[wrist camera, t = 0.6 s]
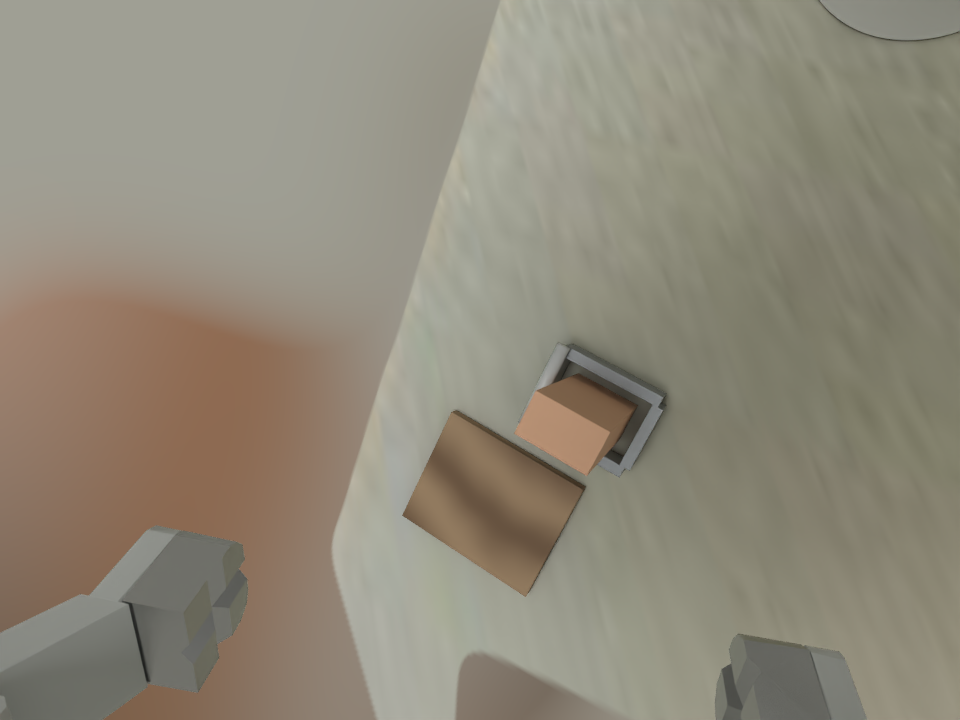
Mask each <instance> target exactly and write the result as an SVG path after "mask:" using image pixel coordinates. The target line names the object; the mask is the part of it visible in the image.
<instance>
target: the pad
mask: <svg viewBox="0 0 960 720" xmlns="http://www.w3.org/2000/svg"><path fill="white" fill-rule="evenodd" d="M584 489H585V486H584V485H582V484H580V483H578V482H577V481H575V480H573V479H572V478H570V477H568V476H567V475H565V474H563V473H562V472H560V471H558V470H557V469H555V468H553V467H551V466H550V465H548V464H546V463H545V462H543V461H541V460H540V459H538V458H536V457H535V456H533V455H531V454H529V453H528V452H526V451H524V450H523V449H521V448H519V447H518V446H516V445H514V444H513V443H511V442H509V441H507V440H506V439H504V438H502V437H501V436H499V435H497V434H496V433H494V432H492V431H491V430H489V429H487V428H485V427H484V426H482V425H480V424H479V423H477V422H475V421H474V420H472V419H470V418H469V417H467V416H465V415H464V414H462V413H460V412H458V411H457V410H456V411H453V412H451V414H450V416H449V418H448V421H447V423H446V425H445V427H444V429H443V431H442V433H441V435H440V437H439V439H438V442H437V444H436V446H435V448H434V450H433V452H432V454H431V456H430V458H429V461H428V463H427V465H426V467H425V469H424V471H423V473H422V475H421V477H420V479H419V482H418V484H417V486H416V488H415V490H414V492H413V494H412V496H411V498H410V500H409V503H408V505H407V507H406V509H405V511H404V513H403V515H402V516H404V517H405V518H407V519H409V520H410V521H412V522H413V523H415V524H416V525H418V526H419V527H421V528H422V529H424V530H425V531H427V532H428V533H430V534H431V535H433V536H434V537H436V538H437V539H439V540H440V541H442V542H443V543H445V544H446V545H448V546H449V547H451V548H452V549H454V550H455V551H457V552H458V553H460V554H462V555H463V556H465V557H466V558H468V559H469V560H471V561H472V562H474V563H475V564H477V565H478V566H480V567H481V568H483V569H484V570H486V571H487V572H489V573H490V574H492V575H493V576H495V577H496V578H498V579H499V580H501V581H502V582H504V583H505V584H507V585H508V586H510V587H511V588H513V589H514V590H516V591H518V592H519V593H521V594H522V595H524V596H525V597H526V595H527V594H528V593H529V591H530V589H531V587H532V586H533V584H534V582H535V580H536V578H537V576H538V574H539V573H540V571H541V569H542V567H543V565H544V563H545V561H546V560H547V558H548V556H549V554H550V552H551V550H552V549H553V547H554V545H555V543H556V541H557V539H558V537H559V536H560V534H561V532H562V530H563V528H564V526H565V524H566V523H567V521H568V519H569V517H570V515H571V513H572V512H573V510H574V508H575V506H576V504H577V502H578V500H579V499H580V497H581V495H582V493H583V491H584Z"/></svg>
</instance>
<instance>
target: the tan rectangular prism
mask: <svg viewBox="0 0 960 720" xmlns="http://www.w3.org/2000/svg"><path fill="white" fill-rule="evenodd" d="M637 406H638V405H636V404H634V403H633V402H631V401H629V400H627V399H625V398H623V397H621V396H620V395H618V394H616V393H614V392H612V391H610V390H608V389H607V388H605V387H603V386H601V385H599V384H597V383H596V382H594V381H592V380H590V379H588V378H586V377H584V376H583V375H581V374H579V373H578V374H576V375H573V376H571V377H568V378H566V379H563V380H561V381H558V382H556V383H553V384H551V385H548V386H546V387H543V388H541V389H538V390H536V391H535V393H534V395H533V397H532V399H531V401H530V403H529V405H528V407H527V409H526V411H525V413H524V415H523V417H522V419H521V421H520V423H519V425H518V427H517V429H516V431H515V433H514V434H516V435H518V436H519V437H521V438H523V439H524V440H526V441H528V442H530V443H531V444H533V445H535V446H536V447H538V448H540V449H541V450H543V451H545V452H547V453H548V454H550V455H552V456H553V457H555V458H557V459H559V460H560V461H562V462H564V463H565V464H567V465H569V466H571V467H572V468H574V469H576V470H577V471H579V472H581V473H582V474H584V475H586V476H587V475H588V474H589V473H590V472H591V471H592V469H593V468H594V467H595V466H596V465H597V464H598V463H599V462H600V461H601V459H602V458H603V457H604V456H605V455H606V454H607V453H608V452H609V451H610V449H611V448H612V447H613V446H614V445H615V444H616V443H617V442H618V440H619V439H620V437H621V435H622V433H623V432H624V430H625V428H626V426H627V424H628V422H629V421H630V419H631V417H632V415H633V413H634V411H635V410H636V408H637Z"/></svg>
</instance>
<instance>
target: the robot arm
mask: <svg viewBox="0 0 960 720" xmlns="http://www.w3.org/2000/svg"><path fill="white" fill-rule="evenodd" d="M820 2H821V3H822V4H823V5H824V6H825V8H826V9H827V10H828V11H829V12H830V13H832V14H833V15H834V16H835V17H836V18H838V19H839V20H840V21H842V22H843V23H845V24H847V25H848V26H850V27H852V28H854V29H856V30H858V31H861V32H863V33H866V34H869V35H873V36H876V37H881V38H886V39H894V40H922V39H930V38H936V37H941V36H945V35H949V34H952V33H956V32H959V31H960V0H820ZM244 560H245V557H244V552H243V545H242V544H240V543H238V542H235V541H230V540H225V539H220V538H216V537H211V536H206V535H202V534H197V533H192V532H187V531H180V530H175V529H170V528H166V527H161V526H155V527H152V528H150V529H148V530H147V531H146V532H145V533H144V534H143V535H142V536H141V537H140V538H139V540H138V541H137V542H136V543H135V544H134V545H133V546H132V548H131V549H130V550H129V551H128V552H127V553H126V554H125V555H124V557H123V558H122V559H121V560H120V561H119V562H118V564H116V566H115V567H114V568H113V569H112V570H111V571H110V572H109V574H108V575H107V576H106V577H105V578H104V579H103V580H102V582H101V583H100V584H99V585H98V586H97V587H96V588H95V590H94V591H93V592H92V593H91V594H90V595H89V596H87V595H81V594H80V595H78V596H76V597H74V598H72V599H70V600H68V601H66V602H64V603H61V604H59V605H57V606H55V607H53V608H51V609H49V610H47V611H45V612H43V613H41V614H39V615H37V616H34V617H32V618H30V619H28V620H26V621H24V622H22V623H20V624H18V625H16V626H14V627H12V628H10V629H7V630H5V631H3V632H1V633H0V720H103V719H104V718H105V717H107V716H108V715H110V714H111V713H112V712H114V711H115V710H117V709H118V708H119V707H121V706H122V705H123V704H125V703H126V702H127V701H129V700H130V699H132V698H133V697H134V696H136V695H137V694H139V693H140V692H141V691H143V690H144V689H145V688H147V684H152V685H158V686H164V687H169V688H175V689H180V690H186V691H191V692H199V690H200V688H201V687H202V685H203V683H204V682H205V680H206V678H207V677H208V675H209V674H210V672H211V670H212V669H213V667H214V665H215V664H216V662H217V660H218V658H219V654H218V647H217V644H218V643H220V642H222V641H223V640H225V639H227V638H228V637H230V636H232V635H233V633H234V631H235V630H236V628H237V626H238V624H239V623H240V621H241V618H242V615H243V612H244V609H245V606H246V603H247V595H248V584H247V578H246V577H245V576H244V574H243V573H242V572H241V571H240V570H239V567H240V566H241V564H242V563H243V561H244ZM729 653H730V659H731V664H730V665H728V666H726V667H724V668H723V669H722V670H721V673H720V676H719V679H718V682H717V688H716V697H715V716H716V720H867V717H866V714H865V712H864V709H863V706H862V704H861V701H860V698H859V695H858V693H857V690H856V687H855V685H854V682H853V679H852V676H851V674H850V671H849V668H848V666H847V663H846V660H845V658H844V657H843V655H842V654H841V653H840V652H839V651H833V650H828V649H822V648H816V647H811V646H802V645H801V644H795V643H789V642H783V641H778V640H772V639H766V638H760V637H754V636H749V635H743V634H737V635H736V636H735V637H734V638H733V640H732V643H731V646H730V648H729Z"/></svg>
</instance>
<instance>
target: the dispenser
mask: <svg viewBox="0 0 960 720" xmlns="http://www.w3.org/2000/svg"><path fill="white" fill-rule="evenodd" d="M570 361H572V362H574V363H576V364H578V365H580V366H582V367H583V368H585V369H587V370H589V371H591V372H593V373H595V374H596V375H598V376H600V377H602V378H604V379H606V380H608V381H610V382H611V383H613V384H615V385H617V386H619V387H621V388H623V389H624V390H626V391H628V392H630V393H632V394H634V395H636V396H637V397H639V398H641V399H643V400H645V401H647V402H649V403H651V404H652V407H651V408H650V410H649V412H648V414H647V416H646V417H645V419H644V421H643V423H642V425H641V427H640V428H639V430H638V432H637V434H636V436H635V438H634V439H633V441H632V443H631V445H630V447H629V448H628V450H627V452H626V454H625V456H624V457H622V456H620V455H618V454H617V453H615V452H613V451H611V450H610V451H609V452H608V453H607V454H606V455H605V456H604V457H603V458H602V459H601V461H600V462H599V463H598V464H597V465H599V466H600V467H602V468H604V469H605V470H607V471H609V472H611V473H612V474H614V475H616V476H618V477H620V476H621V474H622V473H623V471H624V470H625V469H627V470H629V471H630V469H631V468H632V466H633V465H634V463H635V461H636V459H637V458H638V456H639V454H640V452H641V450H642V449H643V447H644V445H645V443H646V441H647V440H648V438H649V436H650V434H651V432H652V431H653V429H654V427H655V425H656V423H657V422H658V420H659V418H660V416H661V414H662V413H663V411H664V409H665V407H666V405H664V404H663V403H662V401H663V399H664V397H665V395H666V394H667V393H665V392H663V391H661V390H659V389H657V388H655V387H654V386H652V385H650V384H648V383H646V382H644V381H642V380H640V379H638V378H637V377H635V376H633V375H631V374H629V373H627V372H625V371H623V370H621V369H620V368H618V367H616V366H614V365H612V364H610V363H608V362H606V361H604V360H602V359H601V358H599V357H597V356H595V355H593V354H591V353H589V352H587V351H585V350H584V349H582V348H580V347H578V346H576V345H574V344H570V345H563V344H561V343H557V345H556V347H555V349H554V351H553V353H552V355H551V357H550V359H549V361H548V363H547V365H546V367H545V369H544V371H543V373H542V375H541V377H540V379H539V381H538V383H537V385H536V387H535V389H534V391H533V393H532V395H531V397H530V399H529V401H528V403H527V405H526V407H525V409H524V411H523V413H522V415H521V417H520V419H519V421H518V423H520V421H521V419H522V417H523V415H524V413H525V411H526V409H527V407H528V405H529V403H530V401H531V399H532V397H533V395H534V393H535V391H536V390H538V389H541V388H543V387H546V386H548V385H551V384H553V383H556V382H558V381H560V380H561V378H562V376H563V374H564V372H565V370H566V368H567V366H568V364H569V362H570Z"/></svg>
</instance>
